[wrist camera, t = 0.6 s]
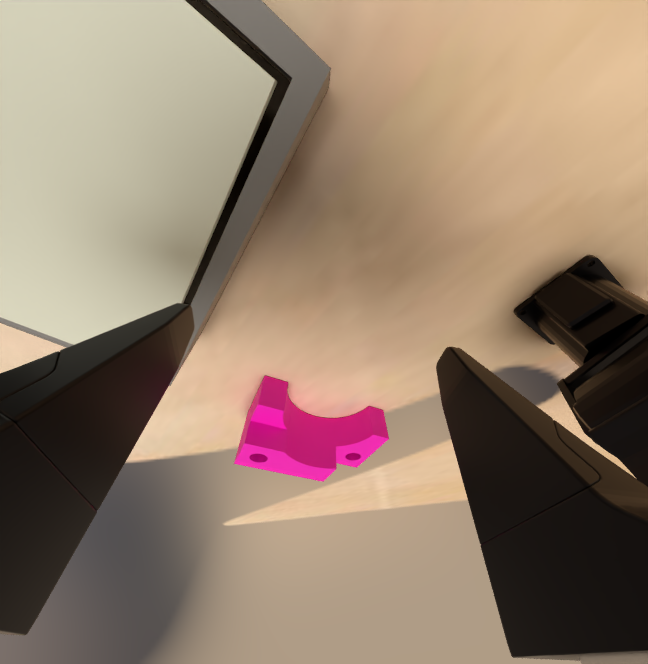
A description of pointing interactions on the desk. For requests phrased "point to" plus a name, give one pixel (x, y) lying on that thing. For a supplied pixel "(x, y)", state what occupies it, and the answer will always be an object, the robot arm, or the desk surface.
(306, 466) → the magenta saddle bracket
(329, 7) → the desk surface
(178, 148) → the trapdoor
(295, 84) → the hatch box
